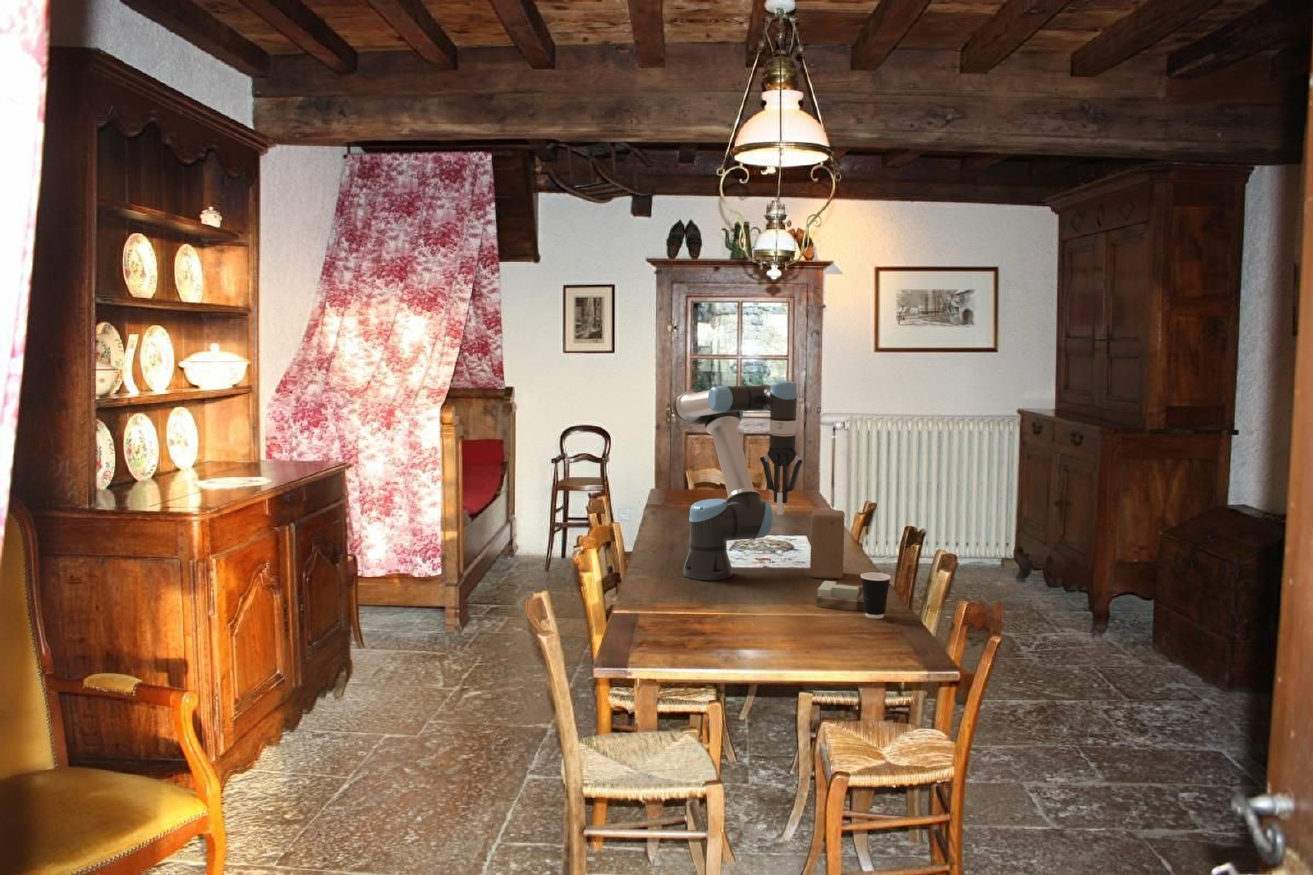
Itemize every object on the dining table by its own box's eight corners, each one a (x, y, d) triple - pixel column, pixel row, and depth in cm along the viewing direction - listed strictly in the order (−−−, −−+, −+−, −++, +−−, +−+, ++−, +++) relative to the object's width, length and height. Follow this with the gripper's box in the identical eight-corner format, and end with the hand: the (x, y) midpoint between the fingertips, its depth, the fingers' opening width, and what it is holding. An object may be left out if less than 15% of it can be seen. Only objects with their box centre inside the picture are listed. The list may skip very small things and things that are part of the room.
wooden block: (842, 579, 307) (844, 515, 305) (809, 578, 309) (811, 514, 307) (843, 572, 317) (844, 510, 315) (811, 570, 319) (812, 508, 317)
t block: (817, 602, 281) (817, 589, 281) (824, 594, 291) (824, 580, 290) (855, 606, 278) (855, 592, 277) (860, 597, 287) (860, 583, 287)
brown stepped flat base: (816, 606, 277) (816, 597, 277) (828, 590, 294) (828, 582, 294) (863, 611, 273) (864, 602, 273) (873, 594, 290) (873, 586, 289)
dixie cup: (853, 615, 269) (854, 575, 267) (870, 610, 274) (871, 570, 273) (878, 621, 263) (879, 580, 262) (895, 616, 268) (896, 575, 267)
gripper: (757, 434, 290) (755, 514, 293) (801, 437, 285) (798, 518, 288) (764, 431, 297) (762, 509, 300) (807, 434, 292) (804, 513, 295)
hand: (780, 513), depth 294 cm, fingers closed
